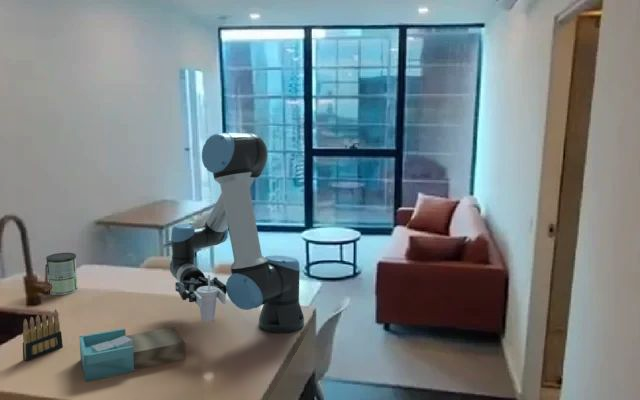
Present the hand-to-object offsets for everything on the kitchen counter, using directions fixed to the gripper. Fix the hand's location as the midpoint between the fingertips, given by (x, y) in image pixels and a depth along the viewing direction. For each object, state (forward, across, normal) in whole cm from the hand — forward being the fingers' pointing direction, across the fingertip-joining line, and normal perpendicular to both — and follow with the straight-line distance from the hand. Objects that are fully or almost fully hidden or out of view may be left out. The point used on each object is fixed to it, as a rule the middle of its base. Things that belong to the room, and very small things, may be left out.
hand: (212, 301), depth 147 cm
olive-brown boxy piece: (-4, +16, -16) cm, 22 cm away
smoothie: (-5, 0, -8) cm, 9 cm away
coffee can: (-76, +36, -17) cm, 86 cm away
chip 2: (-2, +25, -11) cm, 27 cm away
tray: (-4, +29, -16) cm, 33 cm away
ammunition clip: (-20, +44, -16) cm, 51 cm away
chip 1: (-2, +30, -11) cm, 32 cm away
